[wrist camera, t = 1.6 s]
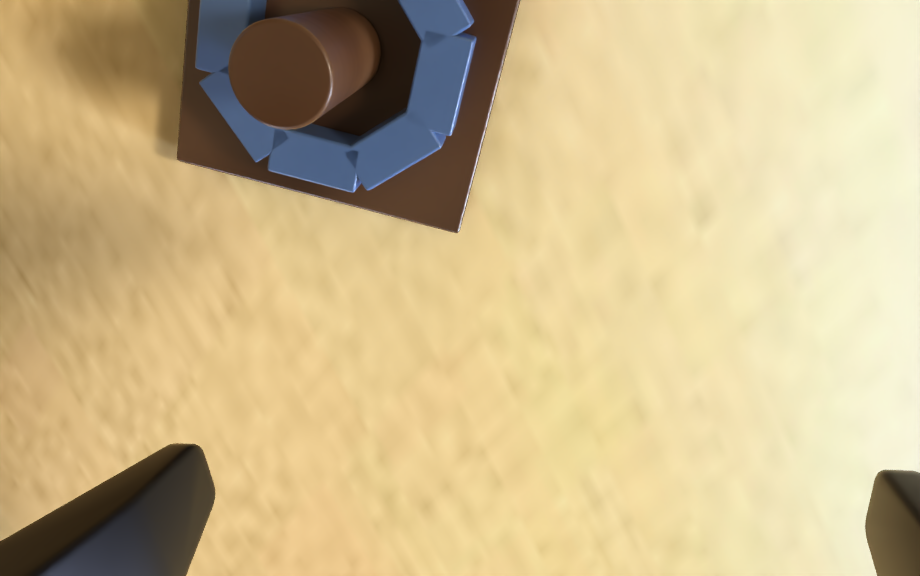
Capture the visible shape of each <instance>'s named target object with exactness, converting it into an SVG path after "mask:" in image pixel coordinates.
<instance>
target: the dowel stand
mask: <svg viewBox="0 0 920 576" xmlns="http://www.w3.org/2000/svg"><path fill="white" fill-rule="evenodd" d="M463 1H464V3H465V5H466V6H467V8H468V10H469V12H470V14H471V16H472V17H473V19H474V23H473V24H472V25H471V26H470V27H469V28H467V29H466V30H464V31H463V33H467V34H470V35H474V36H476V43H475V47H474V51H473V55H472V59H471V64H470V68H469V72H468V76H467V80H466V84H465V88H464V92H463V96H462V100H461V105H460V109H459V113H458V117H457V121H456V125H455V128H454V130H453V132H452V134H451V136H447V135H446V139H445V141H444V143H443V146H442V147H441V149H439V150H437V151H436V152H434V153H432V154H431V155H429V156H427V157H426V158H424V159H422V160H420V161H419V162H417V163H415V164H414V165H412V166H410V167H409V168H407V169H405V170H403V171H402V172H400V173H398V174H397V175H395V176H393V177H392V178H390V179H388V180H386V181H385V182H383V183H381V184H380V185H378V186H376V187H375V188H373V189H371V190H366V189H365V188H364V186H363V185H362V183H361V184H360V185H359V187H358V188H357V189H356V191H355V192H353V193H351V192H347V191H344V190H340V189H336V188H332V187H328V186H324V185H321V184H317V183H313V182H309V181H305V180H302V179H298V178H294V177H290V176H286V175H282V174H279V173H275V172H271V171H269V170H268V160H269V155H268V156H266V157H265V158H263V159H262V160H260V161H258V162H255V161H254V160H253V158H252V157H251V156H250V154H249V153H248V151H247V150H246V149H245V147H244V146H243V144H242V143H241V142H240V140H239V139H238V137H237V136H236V134H235V133H234V132H233V130H232V129H231V127H230V126H229V125H228V123H227V122H226V120H225V119H224V118H223V116H222V115H221V113H220V112H219V111H218V109H217V108H216V106H215V105H214V104H213V102H212V101H211V99H210V98H209V97H208V95H207V94H206V92H205V91H204V90H203V88H202V87H201V85H200V84H199V82H200V81H201V80H202V79H204V78H205V77H207V76H208V75H210V74H211V73H210V72H206V71H203V70H199V69H197V68H196V67H195V60H196V47H197V34H198V21H199V9H200V0H188V11H187V25H186V39H185V53H184V67H183V81H182V95H181V109H180V123H179V137H178V151H177V160H179V161H182V162H185V163H189V164H193V165H197V166H201V167H205V168H208V169H212V170H216V171H220V172H224V173H228V174H231V175H235V176H239V177H243V178H247V179H251V180H254V181H258V182H262V183H266V184H270V185H274V186H277V187H281V188H285V189H289V190H293V191H297V192H300V193H304V194H308V195H312V196H316V197H320V198H323V199H327V200H331V201H335V202H339V203H343V204H346V205H350V206H354V207H358V208H362V209H365V210H369V211H373V212H377V213H381V214H385V215H388V216H392V217H396V218H400V219H404V220H408V221H411V222H415V223H419V224H423V225H427V226H431V227H434V228H438V229H442V230H446V231H450V232H454V233H458V232H459V231H460V228H461V224H462V220H463V216H464V212H465V209H466V205H467V201H468V197H469V194H470V190H471V186H472V182H473V178H474V175H475V171H476V167H477V163H478V159H479V156H480V152H481V148H482V144H483V140H484V137H485V133H486V129H487V125H488V121H489V118H490V114H491V110H492V106H493V102H494V99H495V95H496V91H497V87H498V83H499V80H500V76H501V72H502V68H503V64H504V61H505V57H506V53H507V49H508V45H509V42H510V38H511V34H512V30H513V26H514V23H515V19H516V15H517V11H518V7H519V4H520V0H463ZM420 43H421V40H420V38H419V36H418V35H417V33H416V31H415V29H414V28H413V26H412V24H411V23H410V21H409V19H408V17H407V16H406V14H405V12H404V11H403V9H402V7H401V6H400V4H399V2H398V0H267V3H266V11H265V19H264V20H260V21H257V22H255V23H253V24H251V25H250V26H248V27H247V28H246V29H244V30H243V31H242V32H241V34H240V35H239V36H238V37H237V39H236V40H235V42H234V44H233V46H232V49H231V52H230V56H229V62H228V71H229V79H230V84H231V87H232V90H233V92H234V94H235V96H236V98H237V100H238V101H239V103H240V104H241V106H242V107H243V108H244V109H245V110H246V111H247V112H248V113H249V114H250V115H251V116H252V117H253V118H255V119H256V120H258V121H259V122H261V123H263V124H265V125H267V126H270V127H273V128H277V129H284V130H291V129H298V128H302V127H305V126H307V125H309V124H315V125H319V126H323V127H326V128H330V129H334V130H338V131H341V132H345V133H349V134H353V135H357V136H361V135H362V134H364V133H366V132H367V131H369V130H371V129H372V128H374V127H375V126H377V125H379V124H380V123H382V122H384V121H385V120H387V119H388V118H390V117H392V116H393V115H395V114H396V113H398V112H400V111H401V110H403V109H405V108H406V107H407V105H408V100H409V96H410V91H411V86H412V81H413V77H414V72H415V67H416V62H417V58H418V53H419V48H420Z"/></svg>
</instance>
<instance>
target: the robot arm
mask: <svg viewBox="0 0 920 576" xmlns="http://www.w3.org/2000/svg"><path fill="white" fill-rule="evenodd" d="M214 500H215V487H214V483H213V480H212V477H211V474H210V470H209V467H208V464H207V461H206V458H205V455H204V452H203V450H202V449H201V447H200V446H198V445H196V444H178V443H176V444H170V445H168V446H166V447H164V448H162V449H161V450H159V451H157V452H155V453H154V454H152V455H150V456H149V457H147V458H145V459H143V460H142V461H140V462H138V463H136V464H135V465H133V466H131V467H129V468H128V469H126V470H124V471H122V472H121V473H119V474H117V475H115V476H114V477H112V478H110V479H108V480H107V481H105V482H103V483H101V484H100V485H98V486H96V487H95V488H93V489H91V490H89V491H88V492H86V493H84V494H82V495H81V496H79V497H77V498H75V499H74V500H72V501H70V502H68V503H67V504H65V505H63V506H61V507H60V508H58V509H56V510H54V511H53V512H51V513H49V514H47V515H46V516H44V517H42V518H41V519H39V520H37V521H35V522H34V523H32V524H30V525H28V526H27V527H25V528H23V529H21V530H20V531H18V532H16V533H14V534H13V535H11V536H9V537H7V538H6V539H4V540H2V541H0V576H186V574H187V572H188V569H189V566H190V564H191V561H192V559H193V556H194V554H195V551H196V548H197V546H198V543H199V541H200V538H201V536H202V533H203V530H204V528H205V525H206V523H207V520H208V517H209V515H210V512H211V510H212V507H213V504H214ZM865 529H866V537H867V541H868V545H869V548H870V552H871V555H872V559H873V562H874V566H875V569H876V573H877V576H920V473H918V472H915V471H903V470H883V471H881V472H879V473H878V474H877V476H876V478H875V481H874V485H873V490H872V494H871V499H870V503H869V507H868V512H867V516H866V523H865Z"/></svg>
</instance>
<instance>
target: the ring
mask: <svg viewBox="0 0 920 576" xmlns="http://www.w3.org/2000/svg"><path fill="white" fill-rule="evenodd" d="M398 2H399V4H400V6H401V7H402V9H403V11H404V12H405V14H406V16H407V17H408V19H409V21H410V23H411V24H412V26H413V28H414V29H415V31H416V33H417V35H418V36H419V38H420V40H421V43H420V48H419V53H418V58H417V62H416V67H415V72H414V77H413V81H412V86H411V91H410V96H409V100H408V105H407V107H406V108H405V109H403V110H401V111H400V112H398V113H396V114H395V115H393V116H392V117H390V118H388V119H387V120H385V121H384V122H382V123H380V124H379V125H377V126H375V127H374V128H372V129H371V130H369V131H367V132H366V133H364V134H362V135H361V136H357V135H353V134H349V133H345V132H341V131H338V130H334V129H330V128H326V127H323V126H319V125H315V124H309V125H307V126H305V127H302V128H298V129H291V130H284V129H277V128H273V127H270V126H267V125H265V124H263V123H261V122H259V121H258V120H256V119H255V118H253V117H252V116H251V115H250V114H249V113H248V112H247V111H246V110H245V109H244V108H243V107H242V106H241V104H240V103H239V101H238V100H237V98H236V96H235V94H234V92H233V90H232V87H231V84H230V79H229V71H228V62H229V56H230V52H231V49H232V46H233V44H234V42H235V40H236V39H237V37H238V36H239V35H240V34H241V32H242V31H243V30H244V29H246V28H247V27H248V26H250V25H251V24H253V23H255V22H257V21H260V20H264V19H265V11H266V3H267V0H200V9H199V21H198V34H197V47H196V60H195V67H196V68H197V69H199V70H203V71H206V72H210V73H211V74H210V75H208V76H207V77H205V78H204V79H202V80H201V81H200V82H199V84H200V85H201V87H202V88H203V90H204V91H205V92H206V94H207V95H208V97H209V98H210V99H211V101H212V102H213V104H214V105H215V106H216V108H217V109H218V111H219V112H220V113H221V115H222V116H223V118H224V119H225V120H226V122H227V123H228V125H229V126H230V127H231V129H232V130H233V132H234V133H235V134H236V136H237V137H238V139H239V140H240V142H241V143H242V144H243V146H244V147H245V149H246V150H247V151H248V153H249V154H250V156H251V157H252V158H253V160H254V161H255V162H258V161H260V160H262V159H263V158H265V157H266V156H268V155H269V160H268V170H269V171H271V172H275V173H279V174H282V175H286V176H290V177H294V178H298V179H302V180H305V181H309V182H313V183H317V184H321V185H324V186H328V187H332V188H336V189H340V190H344V191H347V192H351V193H353V192H355V191H356V189H357V188H358V187H359V185H360V184H361V183H362V185H363V186H364V188H365V189H366V190H371V189H373V188H375V187H376V186H378V185H380V184H381V183H383V182H385V181H386V180H388V179H390V178H392V177H393V176H395V175H397V174H398V173H400V172H402V171H403V170H405V169H407V168H409V167H410V166H412V165H414V164H415V163H417V162H419V161H420V160H422V159H424V158H426V157H427V156H429V155H431V154H432V153H434V152H436V151H437V150H439V149H441V147H442V146H443V143H444V141H445V139H446V135H447V136H451V134H452V132H453V130H454V128H455V125H456V121H457V117H458V113H459V109H460V105H461V100H462V96H463V92H464V88H465V84H466V80H467V76H468V72H469V68H470V64H471V59H472V55H473V51H474V47H475V43H476V36H474V35H470V34H467V33H463V31H464V30H466V29H467V28H469V27H470V26H471V25H472V24H473V23H474V19H473V17H472V16H471V14H470V12H469V10H468V8H467V6H466V5H465V3H464V1H463V0H398Z"/></svg>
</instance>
